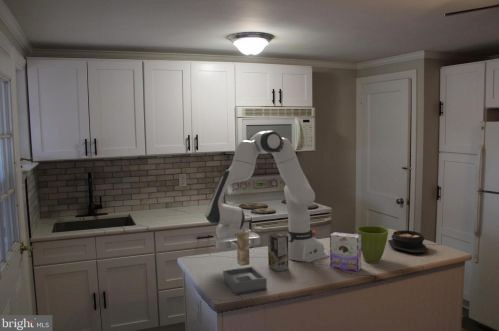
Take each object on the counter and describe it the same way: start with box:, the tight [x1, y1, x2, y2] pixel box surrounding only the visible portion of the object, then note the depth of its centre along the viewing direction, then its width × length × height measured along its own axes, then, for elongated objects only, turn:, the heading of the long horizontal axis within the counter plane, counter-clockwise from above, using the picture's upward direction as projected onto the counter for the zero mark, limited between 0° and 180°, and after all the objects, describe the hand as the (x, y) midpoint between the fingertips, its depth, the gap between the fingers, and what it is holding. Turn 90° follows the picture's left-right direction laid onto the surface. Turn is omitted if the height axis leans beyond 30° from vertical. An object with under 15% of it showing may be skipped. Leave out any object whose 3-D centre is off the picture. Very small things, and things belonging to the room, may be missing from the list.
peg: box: [236, 230, 250, 267], centre depth 177 cm, size 4×4×14 cm
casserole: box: [387, 230, 430, 254], centre depth 224 cm, size 25×19×8 cm
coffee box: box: [267, 232, 290, 272], centre depth 199 cm, size 9×6×16 cm
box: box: [222, 266, 268, 296], centre depth 178 cm, size 14×16×5 cm
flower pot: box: [356, 225, 389, 264], centre depth 206 cm, size 15×15×16 cm
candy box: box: [329, 231, 362, 272], centre depth 196 cm, size 14×6×16 cm, turn 59°
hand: (243, 246), depth 176 cm, fingers closed on peg, 4 cm apart
